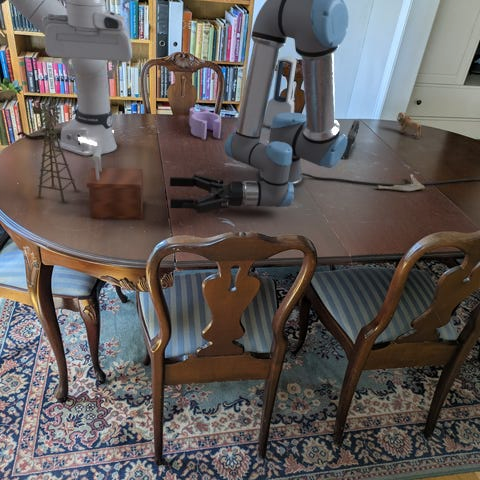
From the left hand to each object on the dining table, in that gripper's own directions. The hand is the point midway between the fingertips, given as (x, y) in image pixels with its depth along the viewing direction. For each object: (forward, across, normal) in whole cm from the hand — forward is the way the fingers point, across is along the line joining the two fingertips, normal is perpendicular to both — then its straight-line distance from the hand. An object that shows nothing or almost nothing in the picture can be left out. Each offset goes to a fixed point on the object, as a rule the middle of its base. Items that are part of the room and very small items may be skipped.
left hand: (91, 77), depth 117 cm
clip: (+38, +34, +70) cm, 86 cm away
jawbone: (+38, +102, +22) cm, 111 cm away
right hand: (+31, +20, -1) cm, 37 cm away
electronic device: (+38, +68, +79) cm, 111 cm away
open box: (+38, +5, 0) cm, 38 cm away
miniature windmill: (+38, -14, +9) cm, 42 cm away
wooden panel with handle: (+28, +4, 0) cm, 29 cm away
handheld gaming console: (+38, +95, +54) cm, 116 cm away
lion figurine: (+38, +131, +78) cm, 157 cm away
